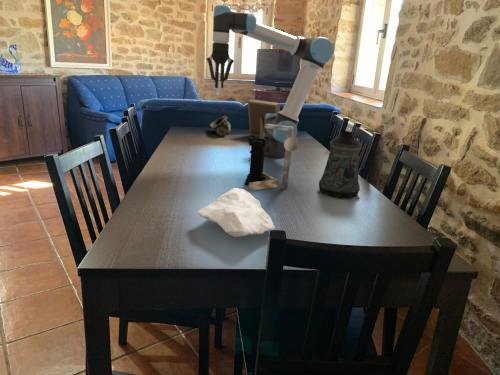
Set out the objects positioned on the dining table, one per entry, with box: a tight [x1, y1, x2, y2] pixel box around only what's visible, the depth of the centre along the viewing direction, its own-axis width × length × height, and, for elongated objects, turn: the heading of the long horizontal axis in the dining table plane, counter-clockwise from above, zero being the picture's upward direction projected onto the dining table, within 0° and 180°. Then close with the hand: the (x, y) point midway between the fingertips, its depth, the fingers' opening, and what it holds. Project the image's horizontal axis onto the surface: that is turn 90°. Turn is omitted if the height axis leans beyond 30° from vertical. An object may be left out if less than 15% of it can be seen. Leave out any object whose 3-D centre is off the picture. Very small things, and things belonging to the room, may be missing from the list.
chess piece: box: [243, 135, 269, 187], centre depth 153 cm, size 8×8×20 cm
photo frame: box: [247, 98, 281, 139], centre depth 246 cm, size 15×22×25 cm
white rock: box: [196, 187, 276, 238], centre depth 114 cm, size 24×35×9 cm
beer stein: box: [318, 130, 362, 200], centre depth 150 cm, size 16×19×25 cm
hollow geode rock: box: [209, 114, 232, 137], centre depth 255 cm, size 28×13×15 cm
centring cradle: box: [248, 124, 299, 192], centre depth 152 cm, size 19×17×26 cm
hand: (218, 95), depth 177 cm, fingers closed
